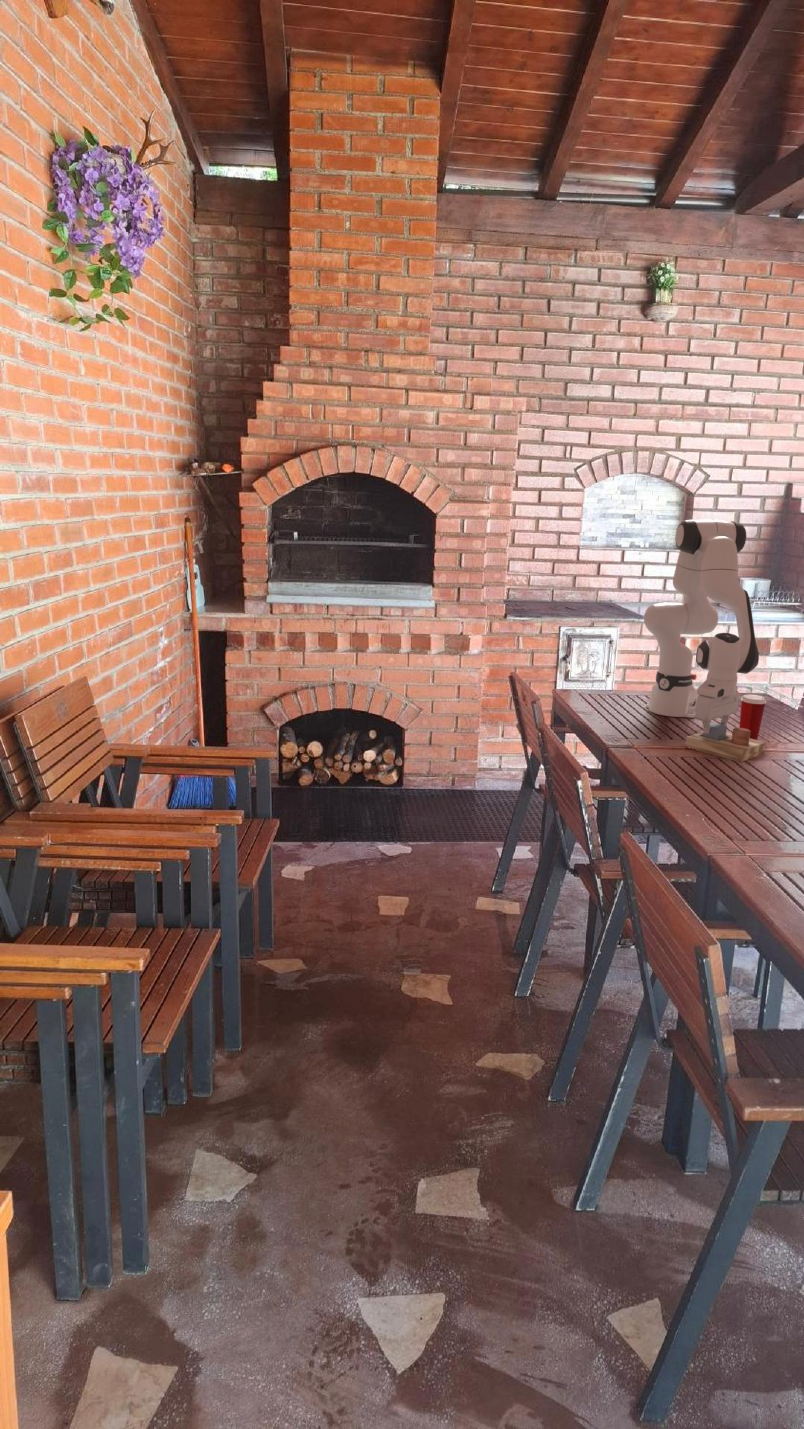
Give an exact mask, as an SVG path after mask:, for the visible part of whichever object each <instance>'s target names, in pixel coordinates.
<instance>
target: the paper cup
mask: <svg viewBox="0 0 804 1429" xmlns="http://www.w3.org/2000/svg"><path fill="white" fill-rule="evenodd" d="M739 701H741V703H740V704H741V705H740V715H739V716H740V717H739V727H738V728H743V729H747V730H750V731H751V732H750V739H754V740H758V739H759V738H758V737H759V733H760V729H761V723H762V720H763V715H764V710H765V707H766V706H765V705H766V704H767V701H766V698H765V697H764V696H762V695H757V694H744V695H742V696H741V698H739Z"/></svg>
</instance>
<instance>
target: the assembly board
mask: <svg viewBox="0 0 804 1429" xmlns="http://www.w3.org/2000/svg"><path fill="white" fill-rule="evenodd" d="M750 732H751V731H750V730H747V729H743V728H739V727H735V728H733V729H732V733H729V732H726V738H725V739H724V740H720V741H717V740H713V739H709V738H705V737H703V731H701V732H697V733H694V734H691V735H688V736H686V741H685V747H686V746H688V747H690V748H694V749H696V750H695V751H697V752H701V753H705V754H708V755H711V756H712V755H713V756H714V757H715V756H716V757H719V758H723V759H728V760H731V761H734V762H738V763H742V762H745V761H747V760H751V759H753V758H755V757H758V756H760V755H764V754H765V750H766V742H764V741H761V740H758V739H757V740H754V739H750ZM690 748H689V749H690Z"/></svg>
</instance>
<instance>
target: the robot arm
mask: <svg viewBox="0 0 804 1429" xmlns="http://www.w3.org/2000/svg"><path fill="white" fill-rule="evenodd" d="M746 541H747V530H746V528H745V526H744V525H743V524H742V523H740V522H738V521H733V520H732V521H728V520H721V519H714V518H713V519H696V520H695V519H685V520H683V521H681V522H680V523H679V525H678V526H677V529H676V531H675V546H676V548H678V550H679V553H678V556H677V560H676V561H677V562H676V565H675V570H674V574H673V578H672V586H673V587H674V589H675V590H676V591H677V592H678V593H679V594H681V595H682V596H683V597H684V598H683V601H682V602H671V601H663V602H657V603H653V604H650V605H649V606H648V607H647V608H646V610H645V612H644V615H643V623H644V626H645V628H646V629H647V630H648V631H649V632H650V633H651V634H652V635H653V637H654V638H655V640H656V642H657V644H658V649H659V656H658V657H659V659H658V670H657V672H656V675H655V682H656V683H654V684H653V685H652V688H651V692H650V697H649V702H648V703H646V706H645V707H646V708H647V709H648V711H649V712H651V713H652V714H657V715H660V716H665V717H674V718H690V719H692V718H693V719H694V718H695V719H696V720H697V721H701V723H702V727H703V730H702V732H704V733H706V734H708V733H711V728H710V723H712V720H716V719H719V718H721V719H720V721H719V723H718V724H721V725H725V726H727V725H728V722H729V720H730V719H731V715H734V714H736V713H738V711H739V707H740V706H739V705H740V691H739V690H738V687H739V686H737V685H738V684H737V683H738V674H746V675H747V674H749V673H750V672H752V671H753V670H755V669H756V668H757V666H758V664H759V660H760V655H759V654H760V653H759V648H758V644H757V641H756V636H755V635H756V634H755V627H754V619H753V611H752V606H751V605H752V604H751V601H750V600H751V599H750V596H749V592H748V591H747V589H744V588H743V587H742V585H741V582H740V580H739V556H738V554H739V553H740V552H741V551H742V550H743V549H744V548H745V545H746ZM709 599H710V600H711V601H714V602H716V603H718V604H721V605H723V606H725V607H727V608H728V609H729V610H730V611H732V612H733V614H734V615H735V618H736V620H735V621H736V627H737V635H738V636H737V635H736V634H733V633H728V632H719V633H718V632H717V633H716V634H714V636H713V638H712V639H705V640H702V642H701V643H700V644H699V645H698V646H697V648H696V653H695V654H696V655H695V656H696V658H695V662H696V664H697V665H698V666H699V667H700V668H701V669H702V670H705V671H708V672H707V675H706V679H705V680H704V682H703V683H702V684H700V685H699V686H698V687H697V689H696V688H695V686H694V685H693V684H694V683H693V681H696V680H697V674H696V673H695V674H694V673H692V667H693V658H694V654H693V651H692V649H691V648H689V647H688V646H687V645H685V644H683V643H682V642H681V635H693V636H694V635H695V636H696V635H698V636H699V635H705V634H710V633H712V632H713V631H715V629H716V628H717V626H718V623H719V613H718V611H717V610H716V608H715V606H714V605H713V604H711V602H710V601H709ZM727 727H728V726H727Z"/></svg>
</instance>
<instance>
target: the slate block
mask: <svg viewBox="0 0 804 1429" xmlns="http://www.w3.org/2000/svg"><path fill="white" fill-rule="evenodd" d="M710 728H711V733H708V734H706V733H704V732H703V731H702V732H703V737H705V738H709V739H713V740H717V741H720V740H724V739H725V738H726V733H727V730H728V726H725V725H721V724H719V723H715V722H712V721H711V723H710Z"/></svg>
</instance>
